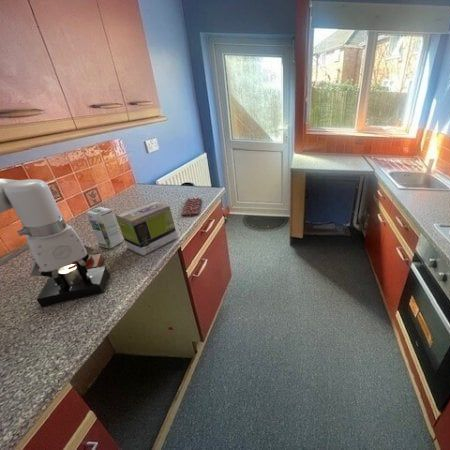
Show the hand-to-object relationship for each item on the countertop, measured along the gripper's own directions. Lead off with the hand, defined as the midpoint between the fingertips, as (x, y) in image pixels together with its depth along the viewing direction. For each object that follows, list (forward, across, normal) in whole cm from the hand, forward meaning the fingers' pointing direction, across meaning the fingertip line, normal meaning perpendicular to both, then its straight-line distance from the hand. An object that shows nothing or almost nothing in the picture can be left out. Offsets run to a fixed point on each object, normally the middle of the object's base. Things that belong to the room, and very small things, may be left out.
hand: (73, 280), depth 74 cm
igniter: (+3, +5, +10) cm, 12 cm away
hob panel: (+3, 0, 0) cm, 3 cm away
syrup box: (+4, +18, +18) cm, 26 cm away
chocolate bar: (+4, +58, +21) cm, 61 cm away
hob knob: (0, 0, 0) cm, 0 cm away
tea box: (+4, +27, +5) cm, 28 cm away
